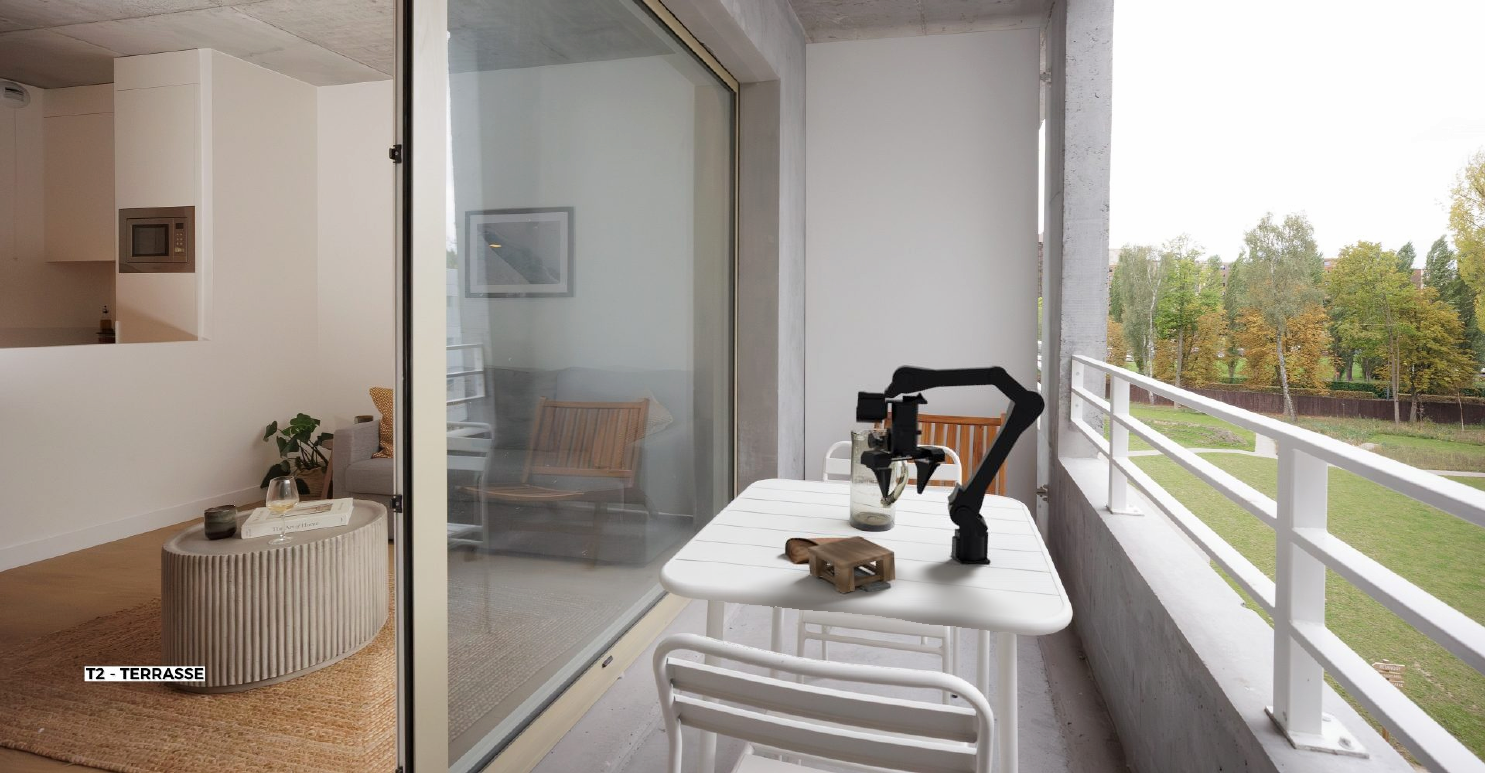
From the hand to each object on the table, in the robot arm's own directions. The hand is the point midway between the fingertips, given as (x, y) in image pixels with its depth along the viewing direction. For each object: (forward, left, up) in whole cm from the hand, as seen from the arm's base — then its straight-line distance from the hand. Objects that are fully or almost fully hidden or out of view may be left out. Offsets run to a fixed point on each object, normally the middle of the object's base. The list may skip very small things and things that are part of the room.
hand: (902, 495), depth 168 cm
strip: (+13, +15, -13) cm, 23 cm away
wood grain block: (+9, +13, -9) cm, 18 cm away
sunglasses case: (+16, +1, -14) cm, 21 cm away
